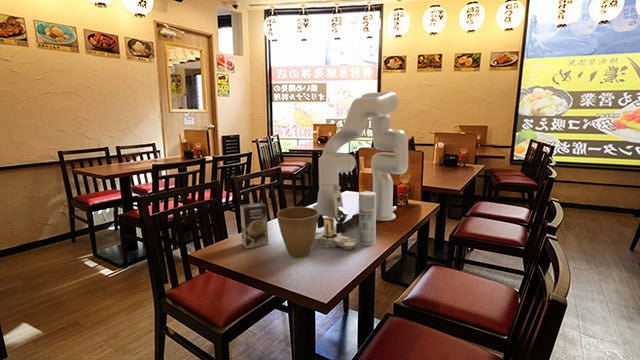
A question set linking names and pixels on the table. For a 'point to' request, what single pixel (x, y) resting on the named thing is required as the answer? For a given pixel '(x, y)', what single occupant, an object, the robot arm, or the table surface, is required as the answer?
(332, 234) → the brass pin
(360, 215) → the spray can
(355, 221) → the brown wooden stick
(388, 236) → the table surface
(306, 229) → the plant pot
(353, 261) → the table surface
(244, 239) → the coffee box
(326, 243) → the two-arm fidget spinner
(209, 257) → the table surface
